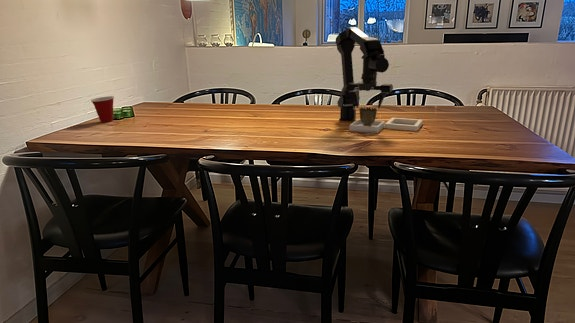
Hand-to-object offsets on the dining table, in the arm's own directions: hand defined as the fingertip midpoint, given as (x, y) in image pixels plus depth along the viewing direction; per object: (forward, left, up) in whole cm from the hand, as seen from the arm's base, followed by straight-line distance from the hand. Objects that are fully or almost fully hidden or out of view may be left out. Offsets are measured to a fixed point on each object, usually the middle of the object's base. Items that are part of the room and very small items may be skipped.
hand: (368, 107), depth 168 cm
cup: (0, 0, -9) cm, 9 cm away
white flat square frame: (+13, +11, -9) cm, 19 cm away
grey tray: (0, 0, -9) cm, 9 cm away
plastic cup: (-125, -32, -9) cm, 129 cm away
